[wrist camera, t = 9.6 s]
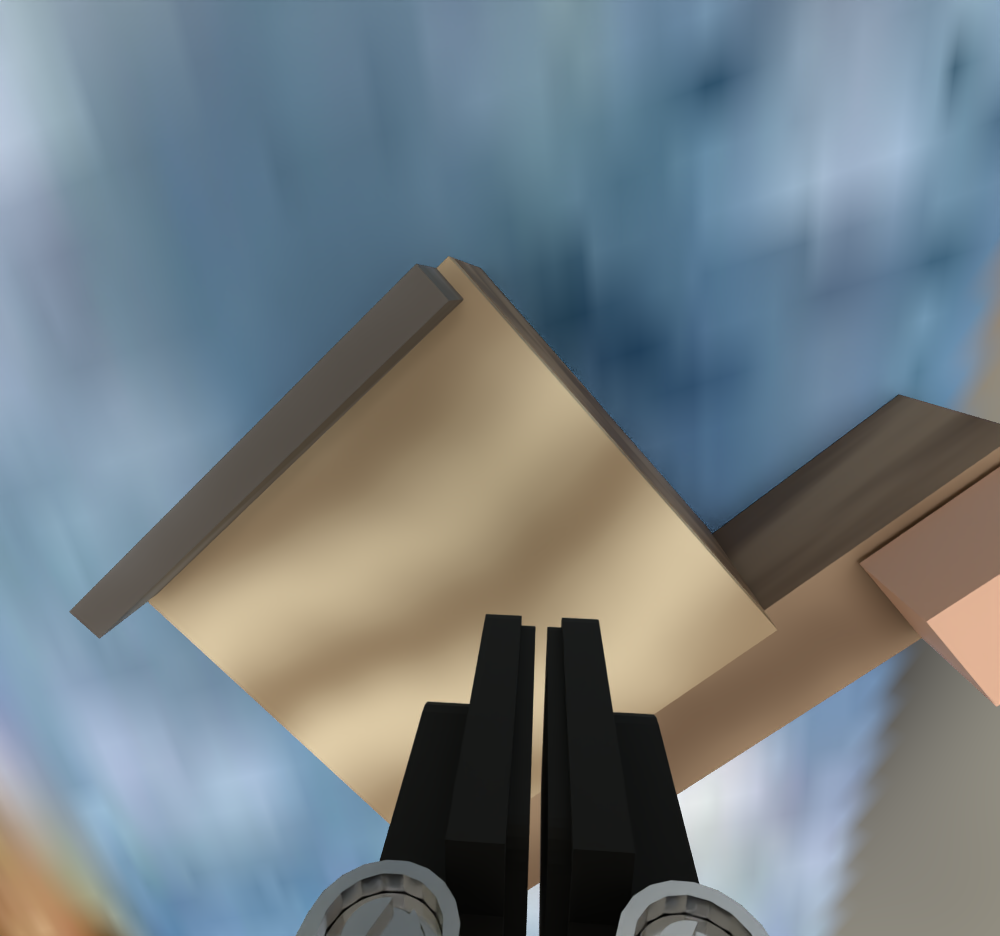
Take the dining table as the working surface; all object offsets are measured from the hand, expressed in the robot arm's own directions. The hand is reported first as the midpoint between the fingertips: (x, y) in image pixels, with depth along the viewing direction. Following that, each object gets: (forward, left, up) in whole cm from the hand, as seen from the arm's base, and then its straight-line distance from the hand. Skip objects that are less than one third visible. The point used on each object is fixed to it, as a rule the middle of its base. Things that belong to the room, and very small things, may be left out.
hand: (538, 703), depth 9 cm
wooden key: (+11, +9, -13) cm, 19 cm away
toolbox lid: (+1, -6, -12) cm, 13 cm away
